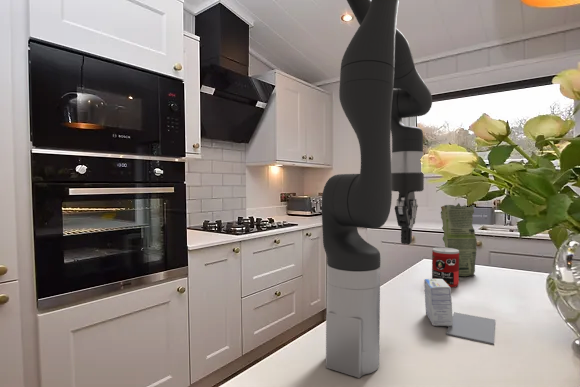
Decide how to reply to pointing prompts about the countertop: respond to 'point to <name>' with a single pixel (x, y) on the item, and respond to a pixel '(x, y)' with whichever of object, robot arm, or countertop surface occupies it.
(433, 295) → the medicine box
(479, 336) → the mat
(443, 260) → the canned food
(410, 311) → the countertop surface
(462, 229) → the pouch
